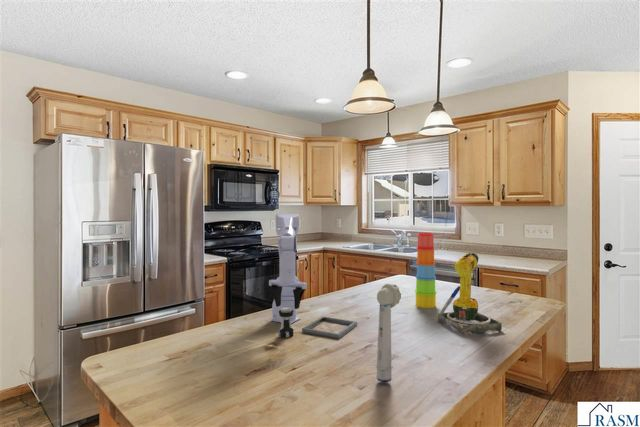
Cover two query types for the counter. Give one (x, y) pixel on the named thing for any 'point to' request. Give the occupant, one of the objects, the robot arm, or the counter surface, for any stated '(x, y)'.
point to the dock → (309, 330)
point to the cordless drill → (466, 302)
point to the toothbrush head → (385, 330)
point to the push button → (285, 322)
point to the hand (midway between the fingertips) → (287, 307)
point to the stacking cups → (425, 272)
